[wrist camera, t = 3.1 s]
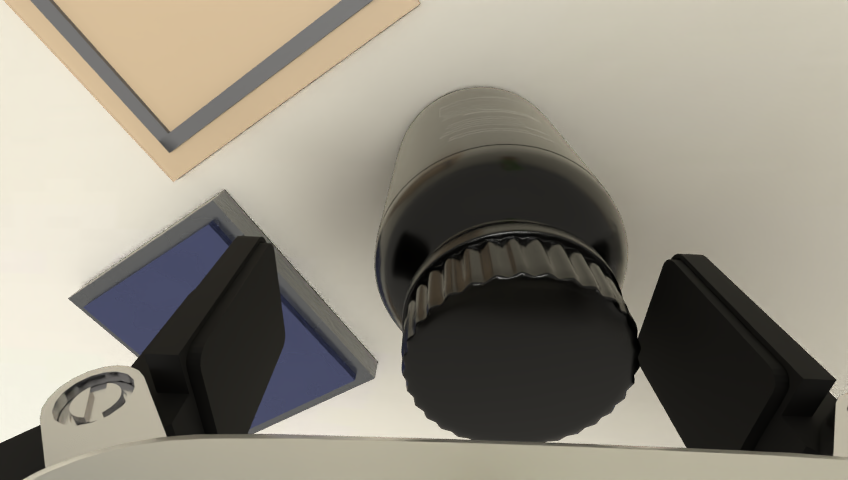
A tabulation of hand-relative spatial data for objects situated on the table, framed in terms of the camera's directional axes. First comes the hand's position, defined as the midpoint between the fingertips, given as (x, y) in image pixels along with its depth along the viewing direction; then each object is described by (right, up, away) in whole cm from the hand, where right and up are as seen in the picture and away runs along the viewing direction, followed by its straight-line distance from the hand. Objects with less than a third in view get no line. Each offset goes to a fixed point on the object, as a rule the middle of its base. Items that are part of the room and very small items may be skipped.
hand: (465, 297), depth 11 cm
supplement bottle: (+1, +5, +9) cm, 10 cm away
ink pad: (-11, -3, +13) cm, 17 cm away
